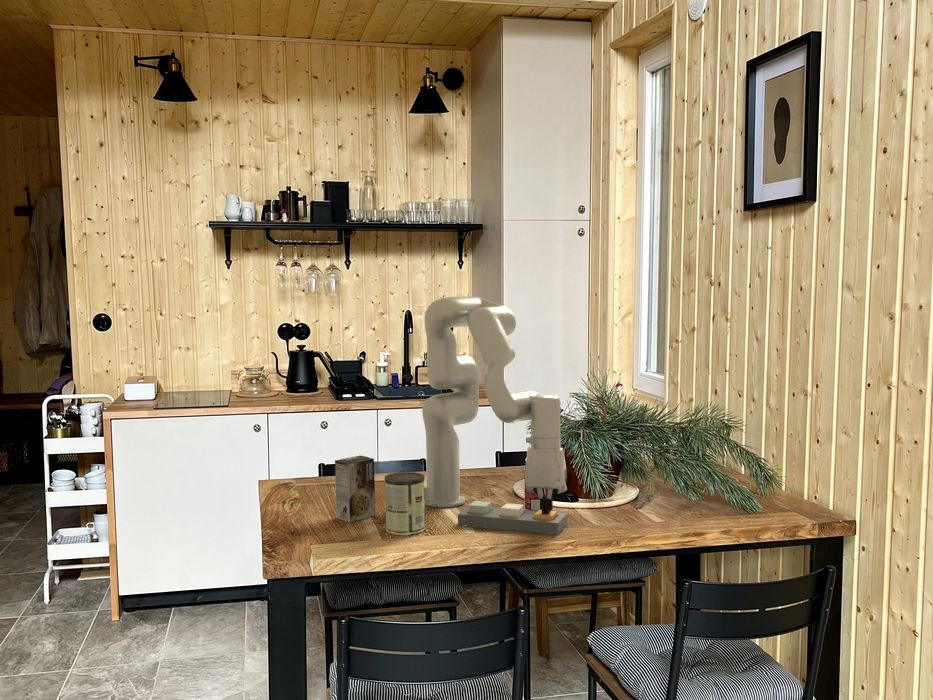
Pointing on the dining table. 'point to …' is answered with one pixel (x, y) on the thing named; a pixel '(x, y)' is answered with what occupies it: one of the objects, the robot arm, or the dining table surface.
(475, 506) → the sage button
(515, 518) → the button panel
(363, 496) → the grey cardboard box
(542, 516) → the orange button
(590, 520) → the dining table surface
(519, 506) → the cream button
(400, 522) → the coffee can
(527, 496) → the soda can
